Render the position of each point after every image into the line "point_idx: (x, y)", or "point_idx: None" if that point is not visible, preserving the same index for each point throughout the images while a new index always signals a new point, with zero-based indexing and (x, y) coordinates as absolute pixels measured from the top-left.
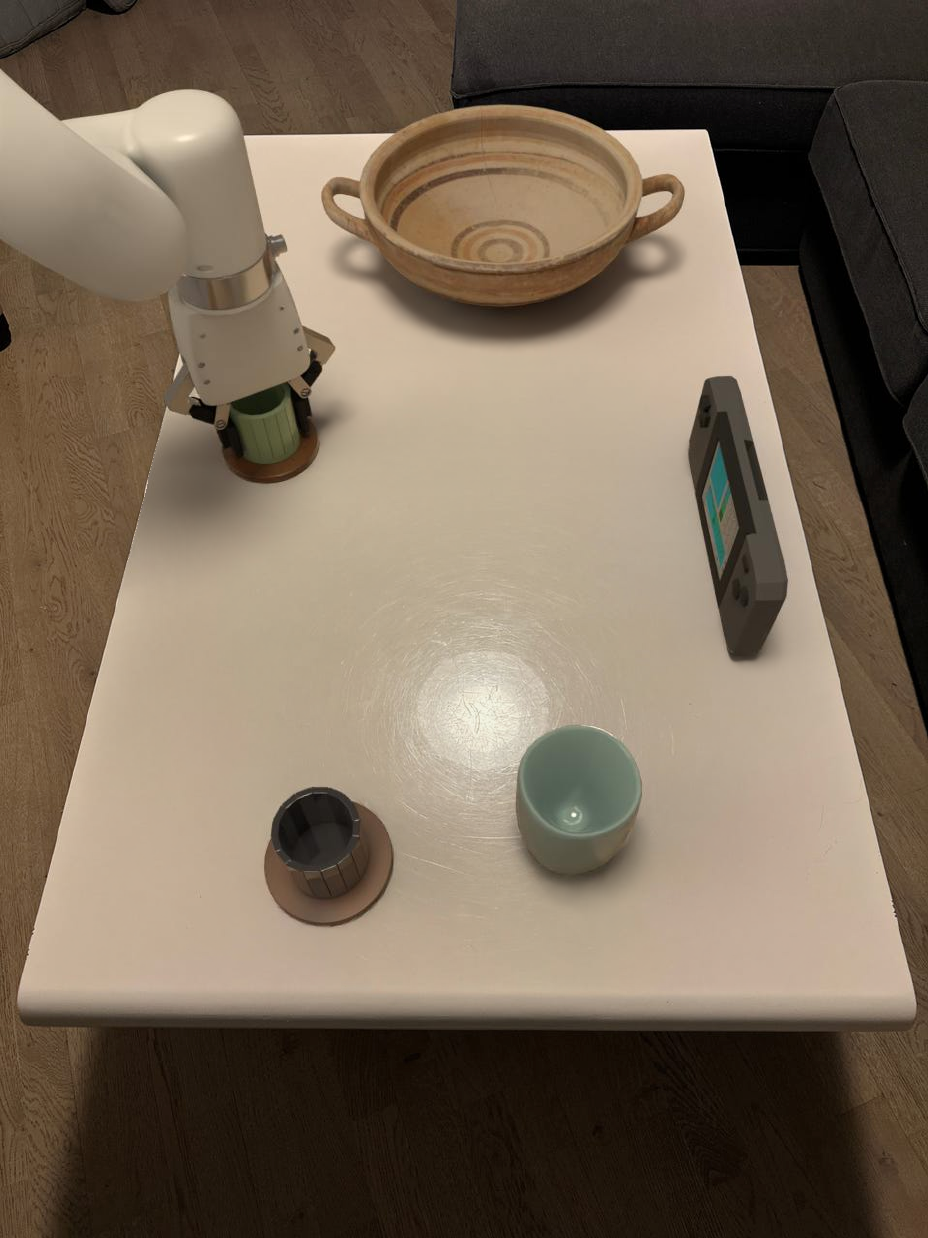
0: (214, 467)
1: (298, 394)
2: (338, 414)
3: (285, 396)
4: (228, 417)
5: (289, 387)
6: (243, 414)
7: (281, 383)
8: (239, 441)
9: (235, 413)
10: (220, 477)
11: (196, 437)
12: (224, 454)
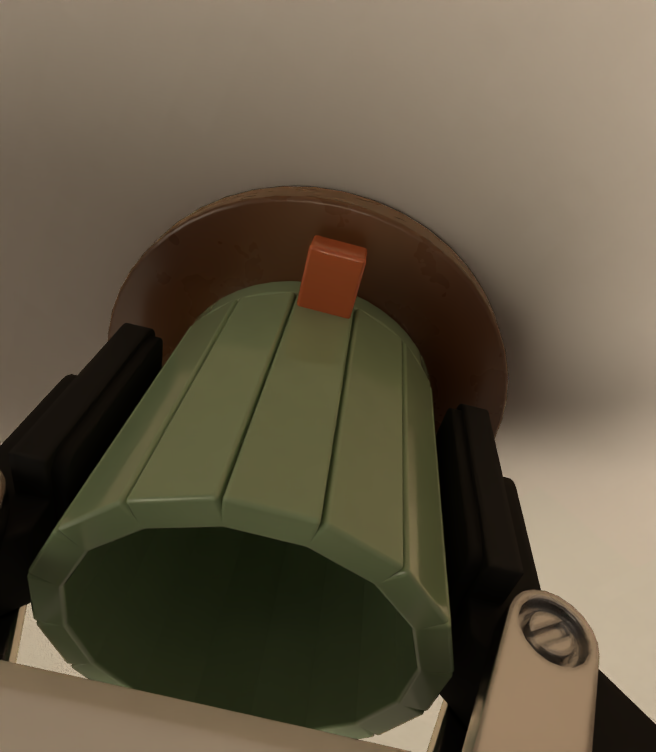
0: (75, 312)
1: (437, 718)
2: (619, 420)
3: (362, 726)
4: (17, 649)
5: (429, 705)
6: (102, 675)
7: (418, 670)
8: None
9: (64, 651)
10: (81, 363)
11: (51, 101)
12: (112, 335)
